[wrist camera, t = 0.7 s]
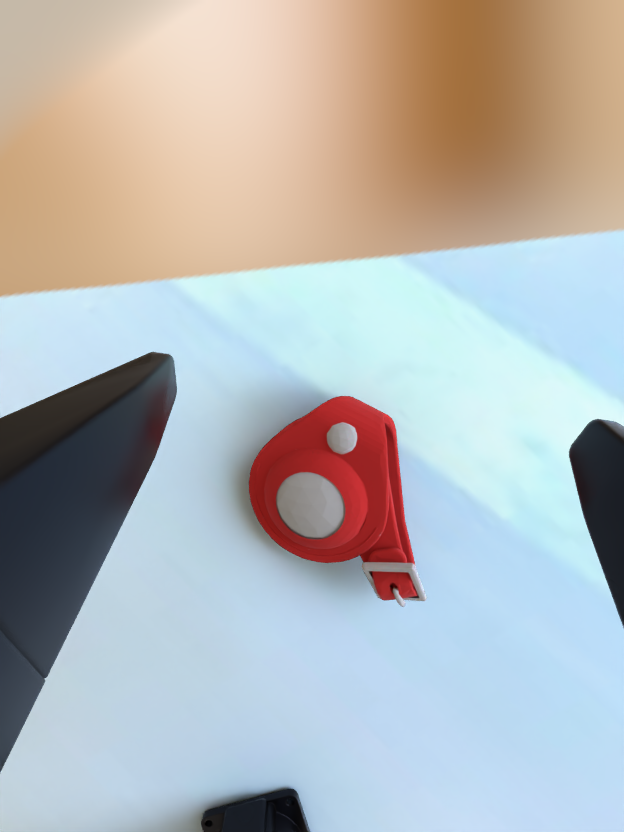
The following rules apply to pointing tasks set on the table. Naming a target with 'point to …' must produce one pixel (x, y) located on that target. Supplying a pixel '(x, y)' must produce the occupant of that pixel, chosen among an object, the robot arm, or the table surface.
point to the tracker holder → (339, 494)
